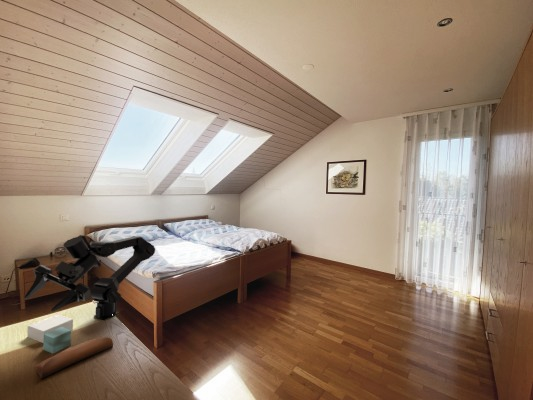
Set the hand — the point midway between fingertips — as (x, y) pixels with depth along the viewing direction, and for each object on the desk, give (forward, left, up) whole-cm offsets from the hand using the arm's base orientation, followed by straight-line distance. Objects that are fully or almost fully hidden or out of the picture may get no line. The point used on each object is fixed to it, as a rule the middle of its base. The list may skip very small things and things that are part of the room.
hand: (38, 304), depth 77 cm
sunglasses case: (-3, +14, -15) cm, 21 cm away
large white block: (-8, -7, -15) cm, 18 cm away
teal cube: (-4, +4, -15) cm, 16 cm away
